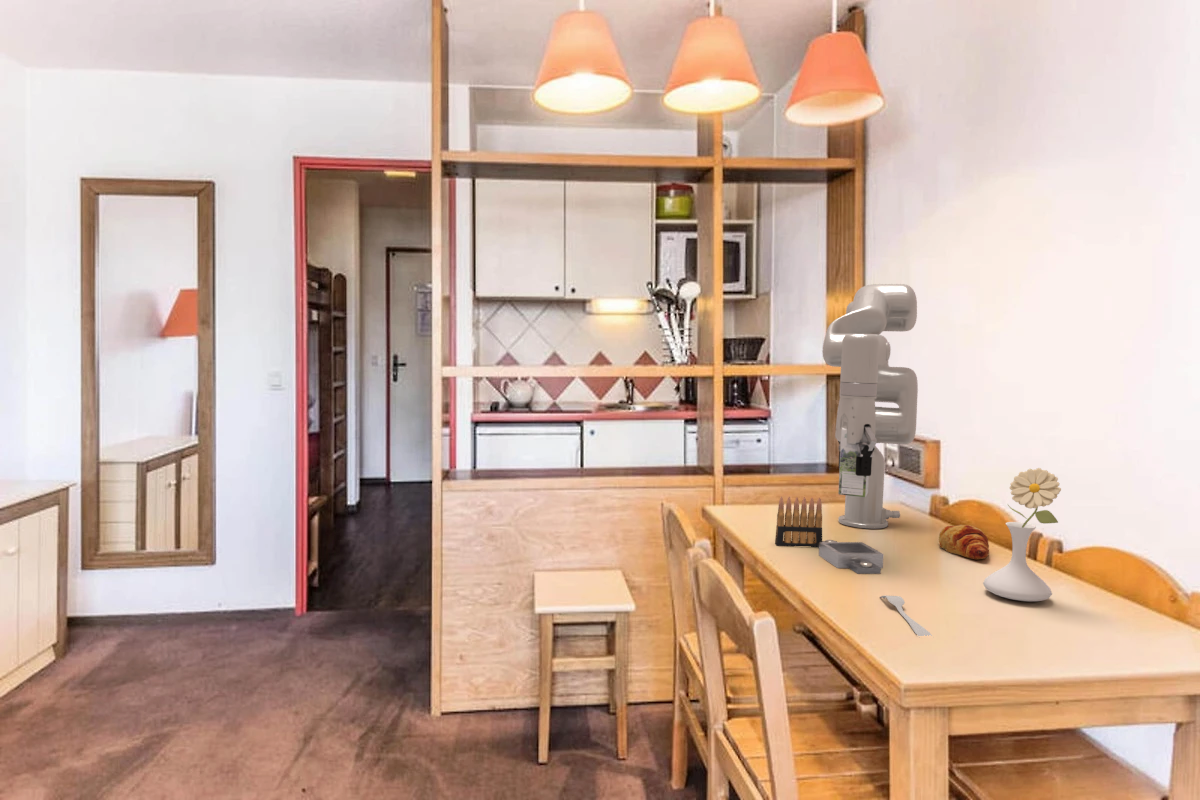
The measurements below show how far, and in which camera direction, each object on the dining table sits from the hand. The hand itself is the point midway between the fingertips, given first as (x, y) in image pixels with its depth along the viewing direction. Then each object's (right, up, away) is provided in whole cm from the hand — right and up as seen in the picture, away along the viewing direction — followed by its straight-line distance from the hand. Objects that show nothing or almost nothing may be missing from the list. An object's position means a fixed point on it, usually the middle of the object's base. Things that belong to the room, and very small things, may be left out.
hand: (854, 471), depth 162 cm
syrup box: (0, -5, 0) cm, 5 cm away
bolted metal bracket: (-1, -20, +3) cm, 20 cm away
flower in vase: (+24, -22, -21) cm, 39 cm away
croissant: (+30, -20, +13) cm, 38 cm away
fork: (-3, -22, -33) cm, 40 cm away
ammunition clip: (-8, -19, +14) cm, 25 cm away
